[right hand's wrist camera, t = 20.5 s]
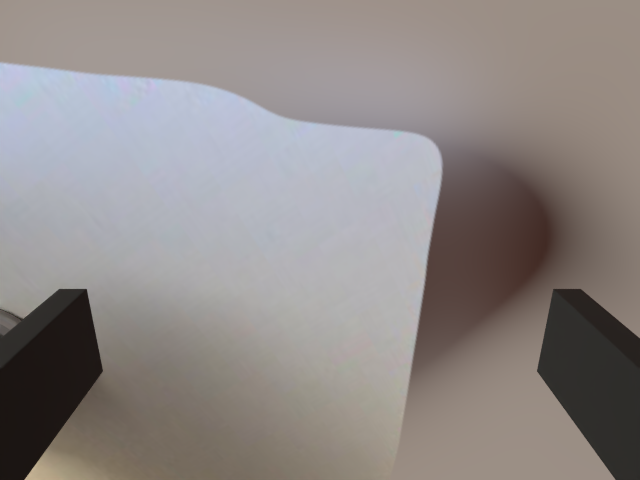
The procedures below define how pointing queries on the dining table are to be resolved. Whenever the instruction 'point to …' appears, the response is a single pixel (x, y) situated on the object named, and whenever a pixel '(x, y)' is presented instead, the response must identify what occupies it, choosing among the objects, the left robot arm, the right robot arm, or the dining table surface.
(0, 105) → the dining table surface
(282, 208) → the dining table surface
